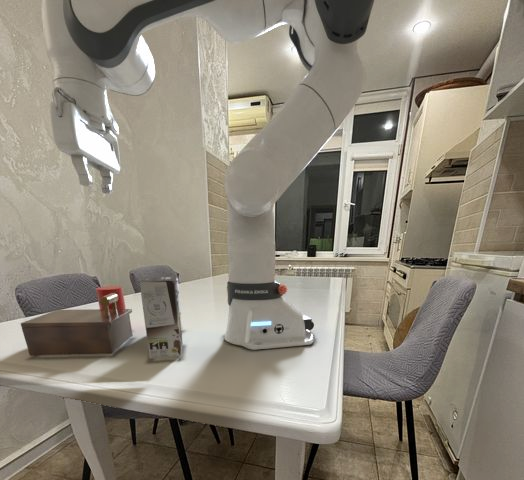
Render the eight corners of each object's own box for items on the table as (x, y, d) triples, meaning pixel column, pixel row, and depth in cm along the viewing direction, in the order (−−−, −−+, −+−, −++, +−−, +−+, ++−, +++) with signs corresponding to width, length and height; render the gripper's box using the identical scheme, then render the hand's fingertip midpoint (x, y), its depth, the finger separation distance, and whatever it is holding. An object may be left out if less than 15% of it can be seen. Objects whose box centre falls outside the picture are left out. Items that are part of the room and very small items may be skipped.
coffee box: (182, 359, 60) (174, 280, 54) (149, 362, 59) (137, 281, 53) (183, 345, 68) (177, 275, 63) (155, 347, 67) (145, 276, 62)
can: (132, 329, 81) (125, 286, 77) (124, 336, 75) (116, 289, 71) (110, 330, 80) (102, 286, 76) (100, 336, 75) (91, 289, 71)
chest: (133, 338, 73) (129, 312, 71) (112, 356, 62) (106, 325, 59) (64, 339, 72) (58, 313, 70) (30, 358, 60) (21, 327, 58)
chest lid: (132, 312, 71) (129, 290, 69) (111, 325, 59) (106, 300, 57) (58, 312, 70) (52, 290, 68) (21, 327, 58) (13, 300, 56)
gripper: (71, 81, 46) (89, 180, 51) (121, 129, 65) (130, 197, 70) (30, 79, 46) (52, 179, 51) (92, 128, 65) (103, 197, 70)
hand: (98, 190), depth 61 cm, fingers open, 8 cm apart
